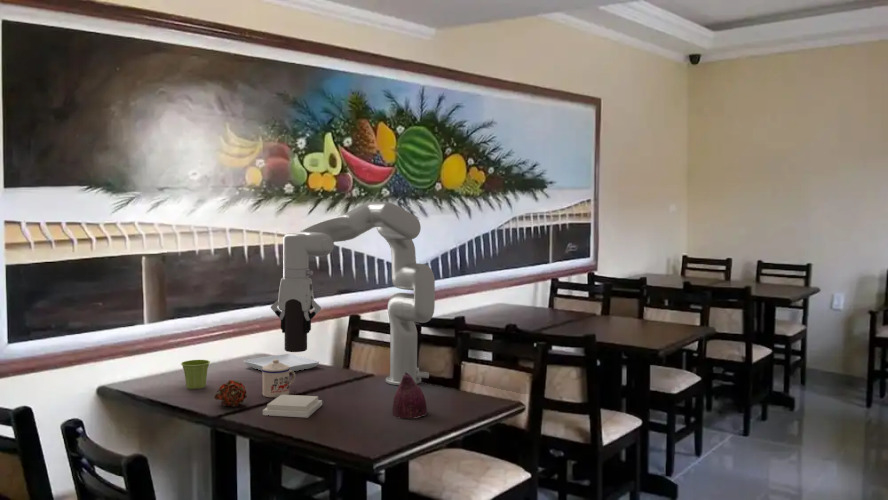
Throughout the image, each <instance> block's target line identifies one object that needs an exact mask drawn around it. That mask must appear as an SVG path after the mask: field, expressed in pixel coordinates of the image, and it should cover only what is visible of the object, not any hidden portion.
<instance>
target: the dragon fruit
mask: <svg viewBox="0 0 888 500" xmlns="http://www.w3.org/2000/svg"><path fill="white" fill-rule="evenodd" d="M216 393H217V394H214V395H213V396H214V397H213V398H214V399H215V400H216V401H217V400H219V401H221V405H222V406H224V407H227V406H229V407H233V408H236V407H238V406H239V405H240V404H243V402H244V400H245V399H246V398H248V394H247V391H246V388H245V386H244V384H243V383H242V382H239V380H233V379H230V380H228V381H227V382H226V383H223V384H221V385H220V386H219V387H218V390H217V391H216Z"/></svg>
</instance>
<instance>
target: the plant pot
mask: <svg viewBox="0 0 888 500" xmlns="http://www.w3.org/2000/svg"><path fill="white" fill-rule="evenodd" d="M210 363H211V361H210V360H208V359H190V360H185V361H182V362H181V363H180V366H182V370H183V373H184V378H185V384H186V385H185V386H186V389H188V390H195V389H199V390H200V389H203V388H206V384H207V377H208V368H209V364H210Z"/></svg>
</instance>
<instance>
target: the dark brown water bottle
mask: <svg viewBox="0 0 888 500" xmlns="http://www.w3.org/2000/svg"><path fill="white" fill-rule="evenodd" d="M305 319H306V318H305V316H304V312H303V311H302V304H301V302H300V301H298V300H296V299H291V300H288V301H287V302H286V303H285V333H284V351H285V352H288V353H302V352H306V351H307V350H308V333H307V334H305V333H304V321H305Z"/></svg>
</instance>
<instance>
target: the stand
mask: <svg viewBox="0 0 888 500" xmlns="http://www.w3.org/2000/svg"><path fill="white" fill-rule="evenodd" d="M321 406H323V400H322V399H321V400H320V399H319V396H318V395H316V396H315V395H299V394H297V395H296V394H295V395H294V394H288V395H280V396H279V397H276V398H274V399H273V400H271V401H270V402H268V403H267V404H266V407H265V408H264V409H262V416H268V415H269V416H271V417H272V416H273V417H292V418H294V417H295V418H307V419H308V418H309V417H310V416H312V415H313V414H314V413H315V412H317V410H318V409H320V408H321Z"/></svg>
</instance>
